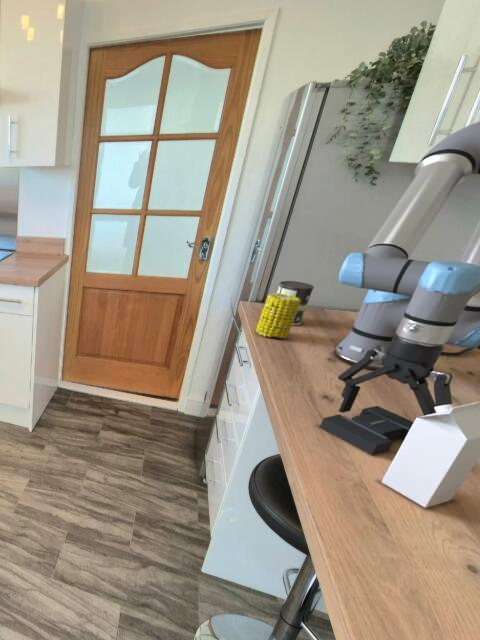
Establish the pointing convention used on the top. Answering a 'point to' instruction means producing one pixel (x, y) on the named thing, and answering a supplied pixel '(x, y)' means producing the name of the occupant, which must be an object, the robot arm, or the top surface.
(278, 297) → the food
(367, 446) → the pad row
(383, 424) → the loose pad
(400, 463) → the milk carton
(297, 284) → the coffee can
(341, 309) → the top surface
